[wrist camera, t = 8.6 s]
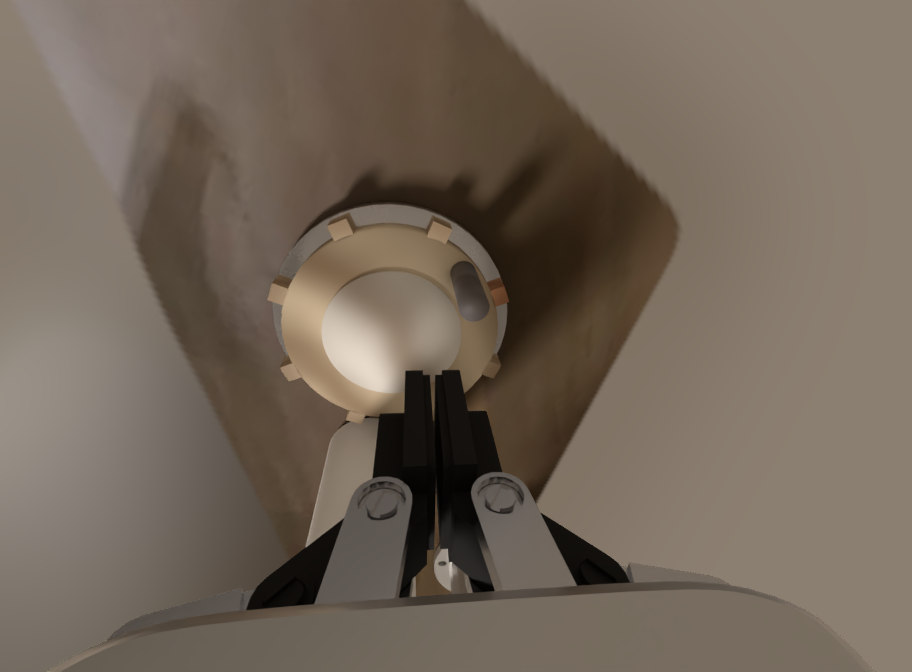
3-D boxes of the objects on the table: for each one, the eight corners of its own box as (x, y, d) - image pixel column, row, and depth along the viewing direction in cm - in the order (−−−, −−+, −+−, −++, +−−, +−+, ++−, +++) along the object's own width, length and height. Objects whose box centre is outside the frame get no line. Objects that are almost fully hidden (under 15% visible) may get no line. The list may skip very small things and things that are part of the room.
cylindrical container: (375, 403, 33) (313, 963, 12) (430, 452, 36) (461, 963, 15) (311, 447, 35) (150, 1013, 13) (368, 490, 38) (316, 1003, 16)
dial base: (528, 364, 33) (531, 371, 32) (344, 429, 34) (343, 438, 33) (461, 161, 25) (463, 163, 24) (227, 256, 26) (221, 261, 26)
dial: (396, 440, 34) (393, 508, 28) (230, 324, 27) (184, 381, 22) (543, 325, 30) (574, 376, 24) (390, 157, 23) (384, 175, 18)
